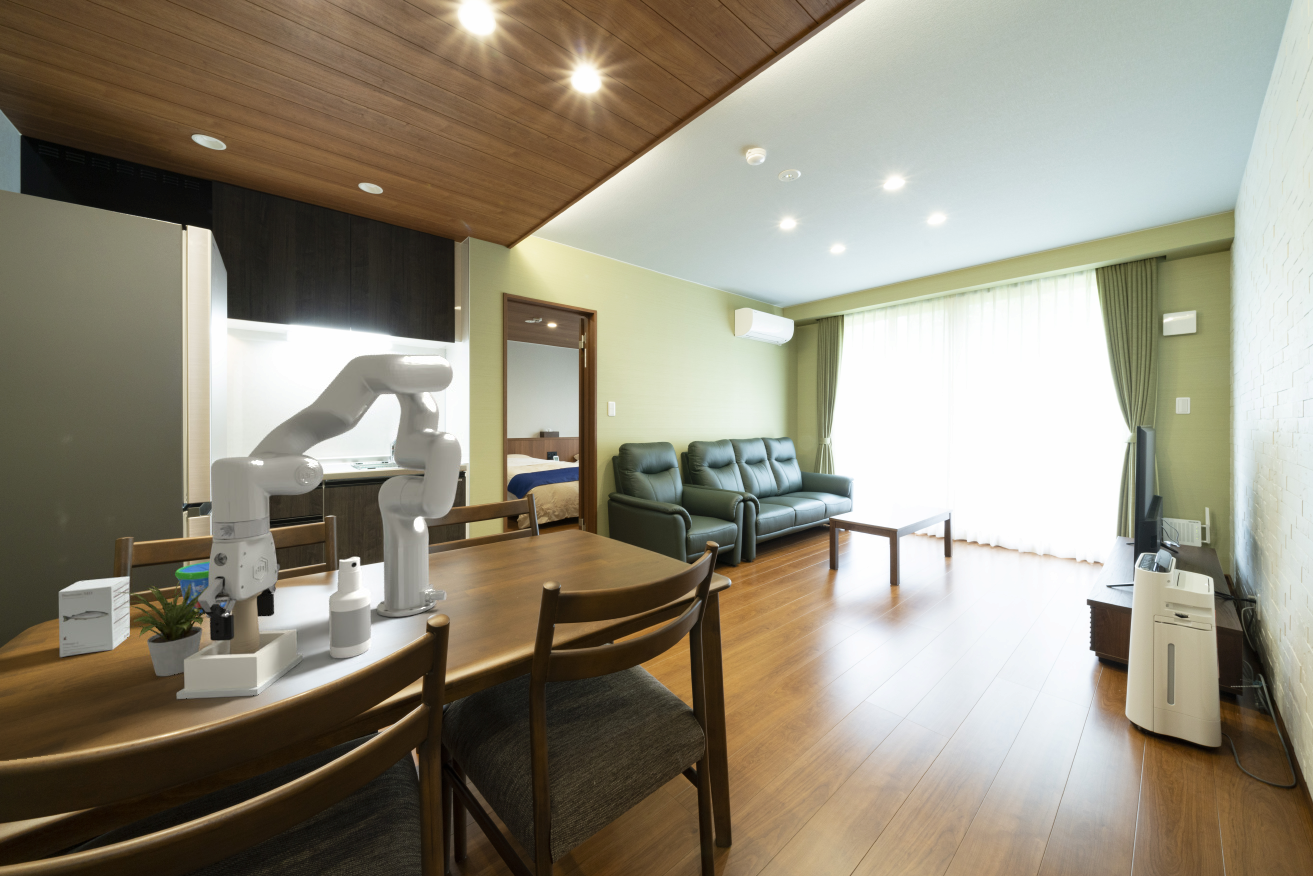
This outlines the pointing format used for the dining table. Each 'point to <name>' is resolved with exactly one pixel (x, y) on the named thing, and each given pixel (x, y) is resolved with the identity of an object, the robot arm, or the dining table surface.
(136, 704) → the dining table surface
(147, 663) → the dining table surface
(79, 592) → the supplement box
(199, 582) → the snack cup
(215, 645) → the box
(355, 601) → the spray bottle
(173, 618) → the house plant
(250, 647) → the handle
